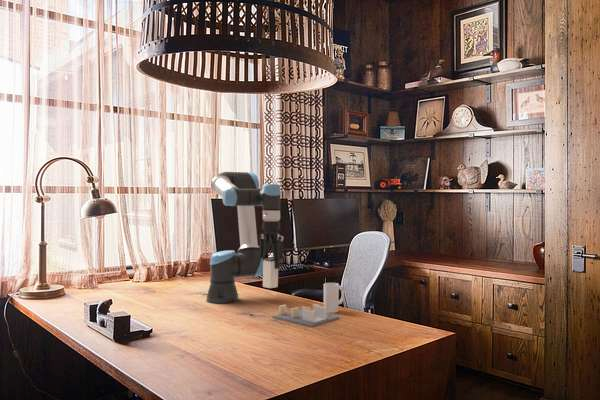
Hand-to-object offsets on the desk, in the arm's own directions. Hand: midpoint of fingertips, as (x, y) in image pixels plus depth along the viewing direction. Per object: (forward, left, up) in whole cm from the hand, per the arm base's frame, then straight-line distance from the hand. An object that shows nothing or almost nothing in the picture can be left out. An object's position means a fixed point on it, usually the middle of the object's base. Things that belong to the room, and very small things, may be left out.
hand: (270, 275), depth 209 cm
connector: (0, 0, -5) cm, 5 cm away
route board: (+15, +6, -17) cm, 23 cm away
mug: (+16, +24, -17) cm, 33 cm away
